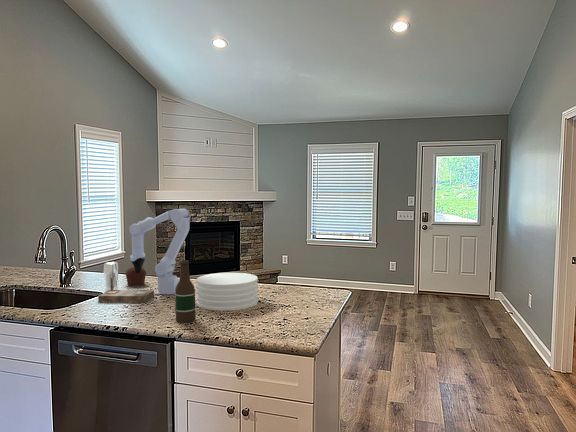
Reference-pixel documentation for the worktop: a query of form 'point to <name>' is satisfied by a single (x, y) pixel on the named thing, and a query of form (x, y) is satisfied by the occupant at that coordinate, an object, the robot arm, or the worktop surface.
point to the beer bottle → (184, 296)
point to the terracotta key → (112, 292)
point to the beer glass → (111, 275)
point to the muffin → (135, 277)
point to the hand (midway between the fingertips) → (138, 273)
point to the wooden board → (126, 296)
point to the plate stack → (227, 291)
